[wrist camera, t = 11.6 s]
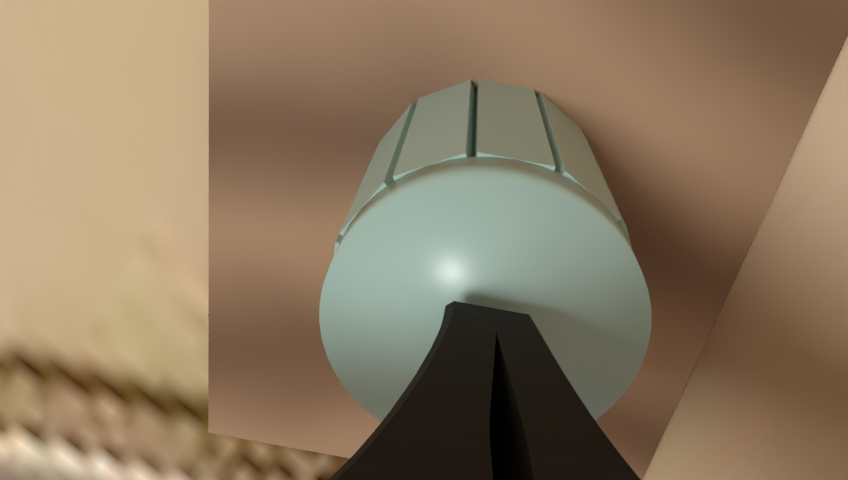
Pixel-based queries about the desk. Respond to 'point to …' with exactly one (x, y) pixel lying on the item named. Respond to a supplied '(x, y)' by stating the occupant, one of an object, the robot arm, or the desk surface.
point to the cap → (484, 246)
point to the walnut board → (472, 60)
